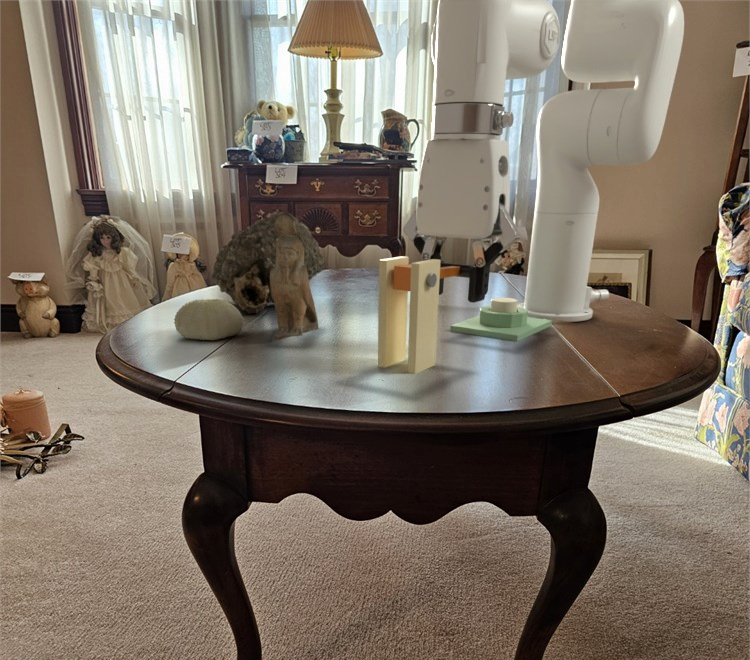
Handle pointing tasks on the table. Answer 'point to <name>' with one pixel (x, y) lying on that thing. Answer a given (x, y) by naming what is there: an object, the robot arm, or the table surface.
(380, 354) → the bracket
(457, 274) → the lever
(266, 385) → the table surface
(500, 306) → the button
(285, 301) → the brown carved statuette
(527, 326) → the button block
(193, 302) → the sea urchin shell
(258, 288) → the rock
